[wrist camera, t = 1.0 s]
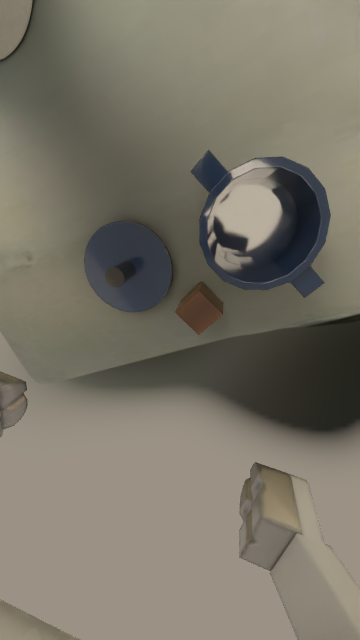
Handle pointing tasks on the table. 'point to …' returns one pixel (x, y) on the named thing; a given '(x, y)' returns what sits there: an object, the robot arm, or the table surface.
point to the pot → (263, 222)
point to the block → (200, 308)
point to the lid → (128, 266)
